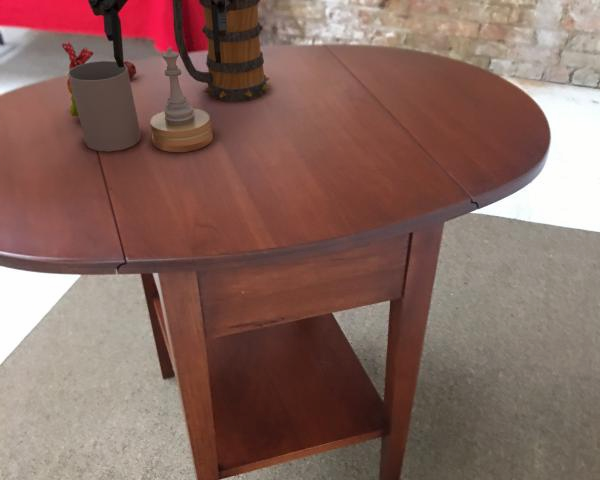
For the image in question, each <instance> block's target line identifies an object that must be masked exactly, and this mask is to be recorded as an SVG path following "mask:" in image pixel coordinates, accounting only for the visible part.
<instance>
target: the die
mask: <svg viewBox="0 0 600 480" xmlns="http://www.w3.org/2000/svg"><path fill="white" fill-rule="evenodd" d="M124 65H125V66H127V68H128V73H129V78H130V79H132V78H133V77H134V76H136V74H137V69H136V65H135V64H134V63H133V62H130V61H127V60H125V61H124Z"/></svg>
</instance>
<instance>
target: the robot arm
mask: <svg viewBox="0 0 600 480" xmlns="http://www.w3.org/2000/svg"><path fill="white" fill-rule="evenodd" d="M128 1H129V0H87V2H88V5H89V7H90V9H91V11H92V13H93V14H92V15H94V16H96V17H99V16H102V17H103V28H104V29H103V30H104V31H103V32H104V34H105V36H106V38H107V41H108V42H112V48H113V49H112V50H113V58H114V61H115V62H116V63H117V65H118V67H124V62H125V61H124V48H123V47H124V46H123V35H122V21H121V18H120V15H119V14H120V12H121V10H122V9H123V7H124V6H125V5H126V4H127V2H128ZM205 1H206V2H207V3H208V4H209V5H210V6H211V11H212V25H213V39H214V52H215V59H216V63H221V51H220V37H221V36H226V35H227V22H226V14H227V12H228V11H230V10H233V11H235V10H237V9H238V0H205Z"/></svg>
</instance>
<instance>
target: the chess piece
mask: <svg viewBox="0 0 600 480" xmlns="http://www.w3.org/2000/svg"><path fill="white" fill-rule="evenodd" d="M166 50H167V51H165V52H162V53H161V58H163V60H164V61H165V62H166V69H165V70H164V75H165V76H166V77H169V98H168V99H167V105H165V107H164V109H163V111H164V113H165V121H166V122H167V123H169V124H172V125H184V124H188V123H190V122H192V121H193V120H194V113H193V108H194V107H193V106H192V105H191V104H190V103H188V99H187V98H186V97H185V96H184V94H183V91H182V89H181V85H180V81H179V80H180V79H179V76H181V75H182V70H181V68H179V66H178V65H177V60H178V58H179V57H180V54H179V51H173V49H172V46H168V47H167V48H166Z"/></svg>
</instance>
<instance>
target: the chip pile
mask: <svg viewBox="0 0 600 480" xmlns="http://www.w3.org/2000/svg"><path fill="white" fill-rule="evenodd" d="M192 108H193V113H194V120H193V121H192V122H190V123H188V124H184V125H172V124H169V123H167V122H166V121H165V113H164V110H163V111H160V112H158V113H156V114H155V115H153V116H152V117H151V118H150V121H149V124H150V125H149V126H150V129H151V133H152V134H151V139H152V144H153V146H154V147H155V148H157V149H159V150H160V151H165V152H168V153H187V152H193V151H197V150H200V149H203V148H205V147H207V146H208V145H209V144H211V143H212V141H213V137H214V135H213V128H212V123H211V117H210V114H208V112H207V111H204V110H202V109H198V108H194V107H192Z"/></svg>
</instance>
